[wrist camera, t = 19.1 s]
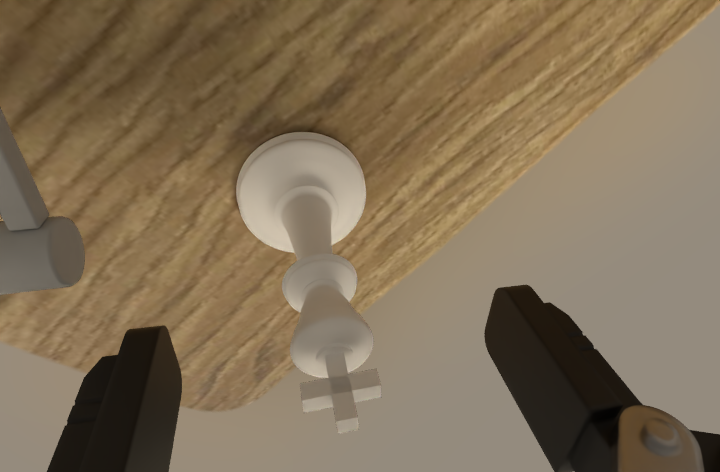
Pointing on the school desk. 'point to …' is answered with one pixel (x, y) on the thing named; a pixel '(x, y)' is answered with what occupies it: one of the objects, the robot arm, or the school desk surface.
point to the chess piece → (315, 261)
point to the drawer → (32, 230)
